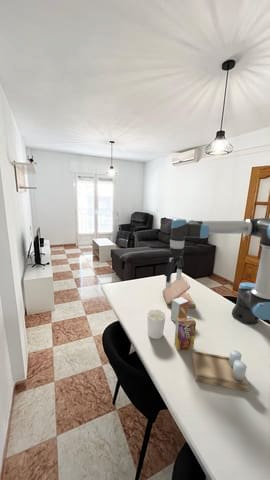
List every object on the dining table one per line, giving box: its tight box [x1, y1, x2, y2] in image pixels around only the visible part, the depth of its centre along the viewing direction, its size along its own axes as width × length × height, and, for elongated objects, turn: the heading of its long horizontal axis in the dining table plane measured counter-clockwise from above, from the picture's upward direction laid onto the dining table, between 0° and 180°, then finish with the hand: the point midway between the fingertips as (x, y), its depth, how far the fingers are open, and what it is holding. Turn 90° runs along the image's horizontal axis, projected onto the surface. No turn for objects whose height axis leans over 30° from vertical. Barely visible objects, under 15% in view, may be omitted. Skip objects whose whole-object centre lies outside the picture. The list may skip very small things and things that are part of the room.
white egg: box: [228, 349, 242, 368], centre depth 86 cm, size 4×4×6 cm
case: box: [162, 275, 197, 308], centre depth 143 cm, size 20×21×16 cm
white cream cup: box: [147, 309, 167, 340], centre depth 106 cm, size 10×10×12 cm
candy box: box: [174, 317, 197, 351], centre depth 98 cm, size 9×4×15 cm, turn 96°
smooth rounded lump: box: [232, 360, 247, 382], centre depth 80 cm, size 4×4×6 cm
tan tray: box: [192, 350, 250, 392], centre depth 85 cm, size 20×13×3 cm, turn 79°
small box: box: [170, 297, 189, 323], centre depth 120 cm, size 8×6×13 cm
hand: (173, 283), depth 111 cm, fingers open, 13 cm apart
